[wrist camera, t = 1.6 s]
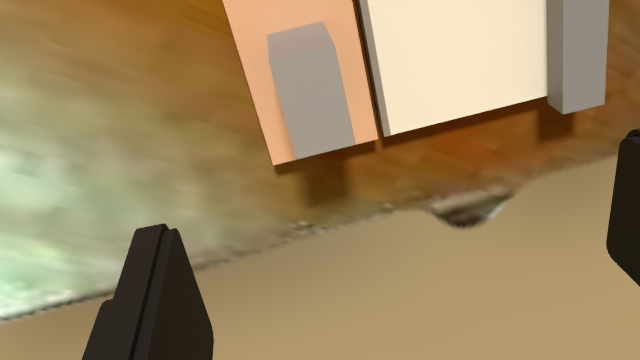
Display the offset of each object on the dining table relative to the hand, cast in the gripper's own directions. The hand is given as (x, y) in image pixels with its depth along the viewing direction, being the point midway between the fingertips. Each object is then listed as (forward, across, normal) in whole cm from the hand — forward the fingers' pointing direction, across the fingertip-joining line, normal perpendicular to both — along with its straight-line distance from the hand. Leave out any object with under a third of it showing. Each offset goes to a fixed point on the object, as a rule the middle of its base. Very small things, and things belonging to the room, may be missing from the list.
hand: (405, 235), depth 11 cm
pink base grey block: (+20, 0, +2) cm, 21 cm away
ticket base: (+20, -10, +2) cm, 22 cm away
